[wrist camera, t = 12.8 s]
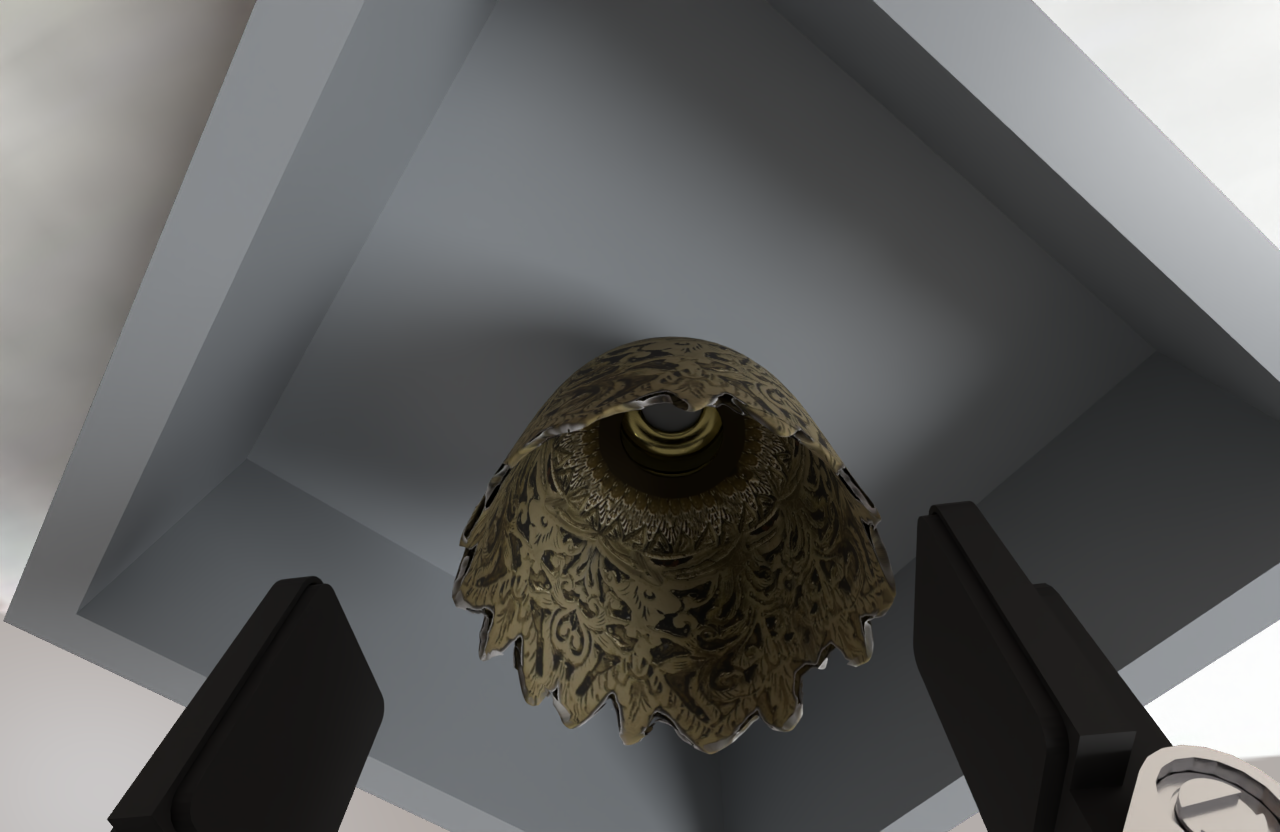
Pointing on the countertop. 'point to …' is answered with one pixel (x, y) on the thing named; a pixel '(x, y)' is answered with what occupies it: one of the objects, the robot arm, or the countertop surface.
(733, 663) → the brown patterned lamp shade
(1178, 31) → the countertop surface
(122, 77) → the countertop surface
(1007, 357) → the crate
